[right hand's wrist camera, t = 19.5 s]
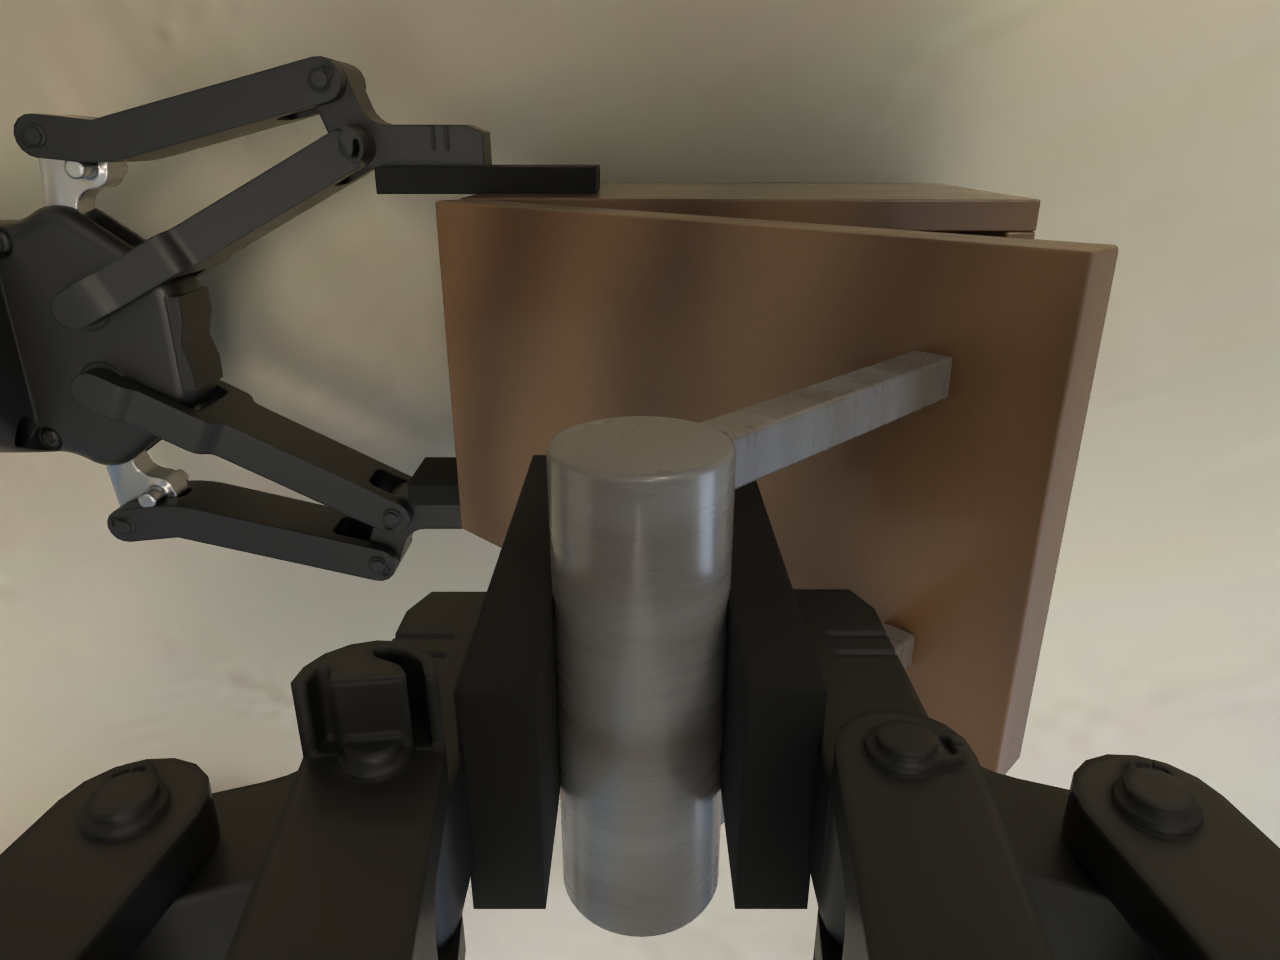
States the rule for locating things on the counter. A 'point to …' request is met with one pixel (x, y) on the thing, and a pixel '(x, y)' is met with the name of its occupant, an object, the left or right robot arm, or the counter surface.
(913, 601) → the lid
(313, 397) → the counter surface
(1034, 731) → the counter surface
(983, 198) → the chest
